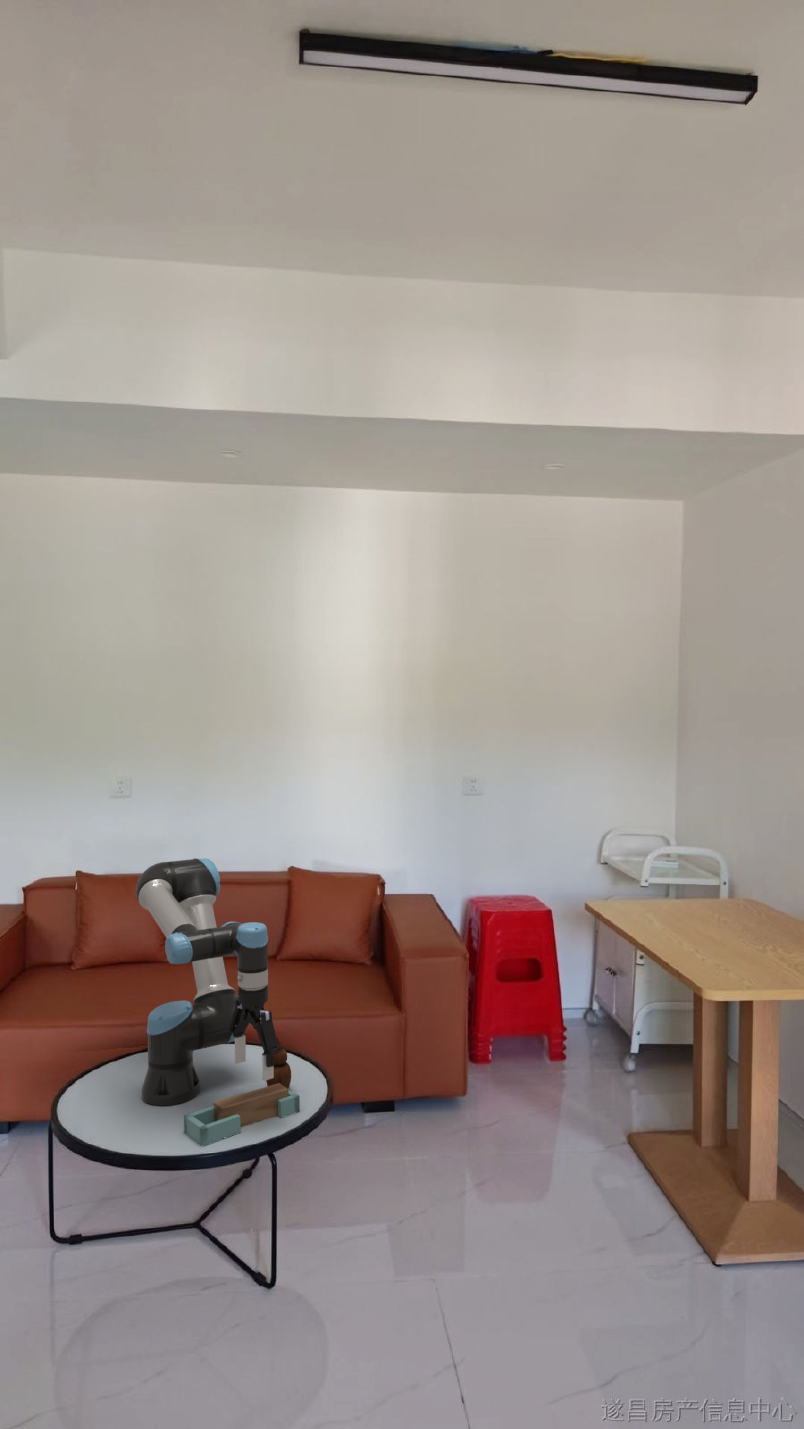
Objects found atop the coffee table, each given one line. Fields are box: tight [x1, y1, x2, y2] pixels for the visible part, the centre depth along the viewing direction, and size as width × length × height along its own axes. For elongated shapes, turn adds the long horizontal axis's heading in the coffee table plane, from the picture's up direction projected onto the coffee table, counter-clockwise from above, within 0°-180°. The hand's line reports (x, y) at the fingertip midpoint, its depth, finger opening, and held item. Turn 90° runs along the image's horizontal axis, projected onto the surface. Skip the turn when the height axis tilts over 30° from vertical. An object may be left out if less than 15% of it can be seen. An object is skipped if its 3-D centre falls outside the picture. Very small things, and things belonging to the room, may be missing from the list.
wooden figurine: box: [265, 1037, 292, 1089], centre depth 230 cm, size 7×6×15 cm
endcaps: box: [183, 1088, 301, 1147], centre depth 213 cm, size 10×27×4 cm, turn 130°
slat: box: [213, 1083, 289, 1128], centre depth 215 cm, size 5×18×6 cm, turn 125°
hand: (253, 1070), depth 216 cm, fingers open, 13 cm apart
